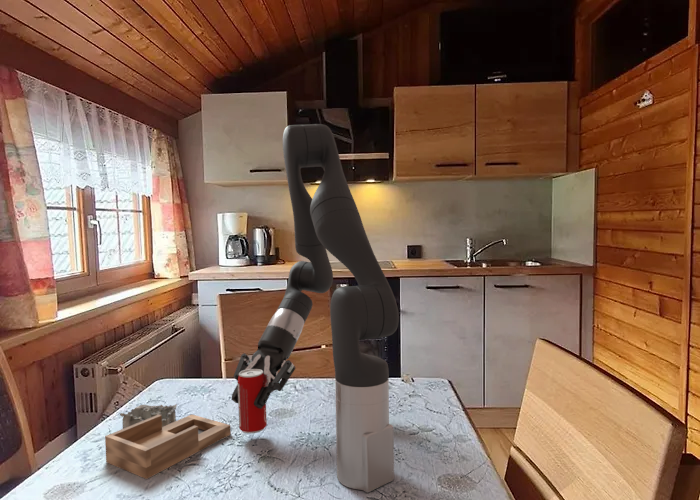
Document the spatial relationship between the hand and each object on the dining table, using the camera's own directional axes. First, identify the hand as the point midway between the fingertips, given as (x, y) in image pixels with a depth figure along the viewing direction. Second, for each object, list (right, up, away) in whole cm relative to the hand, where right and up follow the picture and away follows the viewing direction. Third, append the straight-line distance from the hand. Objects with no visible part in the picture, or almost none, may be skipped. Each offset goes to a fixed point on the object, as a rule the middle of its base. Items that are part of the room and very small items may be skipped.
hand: (246, 403), depth 94 cm
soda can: (+1, -6, +2) cm, 6 cm away
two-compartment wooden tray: (-14, -8, -1) cm, 17 cm away
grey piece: (-24, -8, +10) cm, 27 cm away
